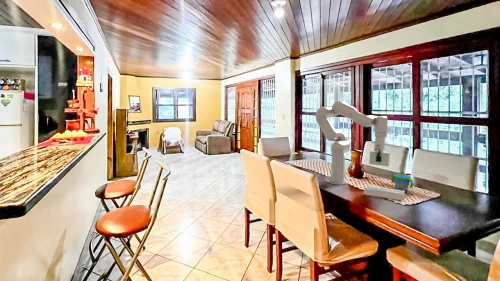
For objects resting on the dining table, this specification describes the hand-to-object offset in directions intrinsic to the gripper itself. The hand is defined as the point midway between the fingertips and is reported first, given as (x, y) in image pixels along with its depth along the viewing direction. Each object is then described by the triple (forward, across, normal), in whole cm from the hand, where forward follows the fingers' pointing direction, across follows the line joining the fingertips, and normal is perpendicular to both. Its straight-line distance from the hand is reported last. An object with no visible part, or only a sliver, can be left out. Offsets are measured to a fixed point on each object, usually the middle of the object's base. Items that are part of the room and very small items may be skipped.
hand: (379, 161), depth 205 cm
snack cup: (+21, -10, +14) cm, 26 cm away
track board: (+20, +11, +6) cm, 24 cm away
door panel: (+3, 0, 0) cm, 3 cm away
